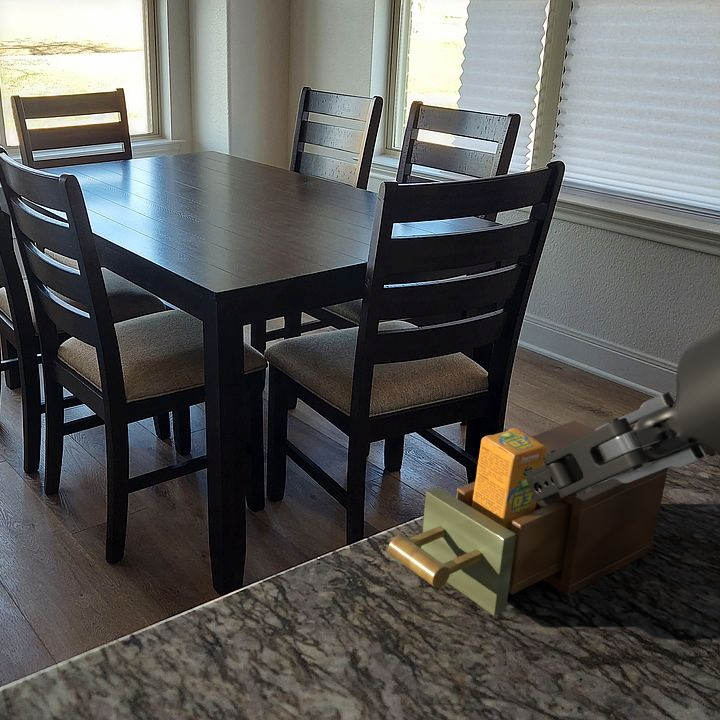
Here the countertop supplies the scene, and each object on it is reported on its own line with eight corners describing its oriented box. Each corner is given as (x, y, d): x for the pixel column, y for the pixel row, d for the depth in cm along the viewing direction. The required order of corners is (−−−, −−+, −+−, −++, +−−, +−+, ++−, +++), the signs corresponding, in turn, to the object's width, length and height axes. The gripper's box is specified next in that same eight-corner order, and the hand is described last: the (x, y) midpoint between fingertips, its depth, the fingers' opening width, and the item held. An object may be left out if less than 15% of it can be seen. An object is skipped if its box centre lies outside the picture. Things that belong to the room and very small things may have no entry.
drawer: (443, 642, 57) (451, 563, 54) (371, 584, 62) (375, 510, 60) (578, 573, 63) (590, 500, 61) (501, 527, 69) (510, 458, 67)
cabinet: (567, 596, 62) (583, 500, 59) (479, 539, 69) (489, 451, 66) (651, 552, 67) (669, 462, 64) (561, 503, 74) (574, 420, 71)
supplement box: (497, 577, 61) (512, 455, 57) (463, 553, 64) (476, 434, 60) (530, 564, 63) (548, 443, 59) (497, 540, 66) (511, 424, 62)
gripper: (850, 280, 45) (632, 398, 59) (672, 325, 39) (474, 445, 53) (935, 408, 43) (686, 500, 56) (759, 477, 37) (528, 562, 50)
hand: (584, 473), depth 54 cm, fingers open, 8 cm apart
